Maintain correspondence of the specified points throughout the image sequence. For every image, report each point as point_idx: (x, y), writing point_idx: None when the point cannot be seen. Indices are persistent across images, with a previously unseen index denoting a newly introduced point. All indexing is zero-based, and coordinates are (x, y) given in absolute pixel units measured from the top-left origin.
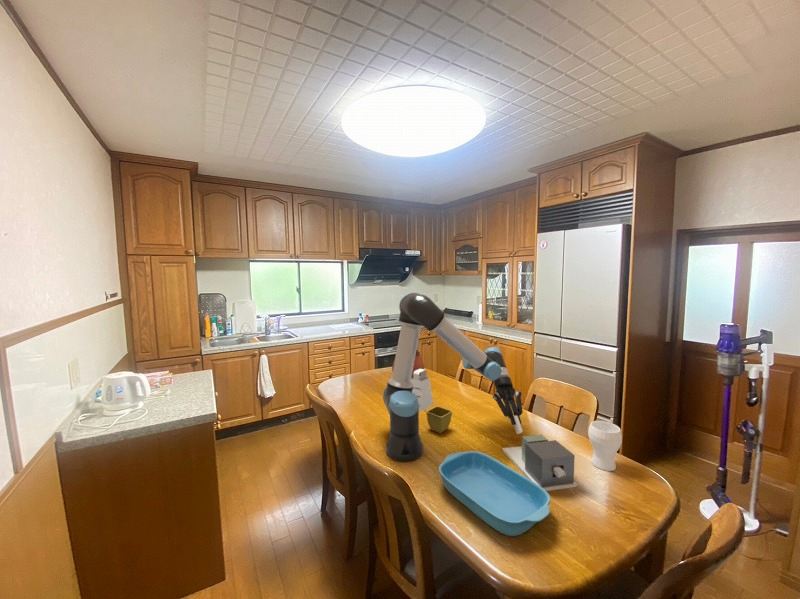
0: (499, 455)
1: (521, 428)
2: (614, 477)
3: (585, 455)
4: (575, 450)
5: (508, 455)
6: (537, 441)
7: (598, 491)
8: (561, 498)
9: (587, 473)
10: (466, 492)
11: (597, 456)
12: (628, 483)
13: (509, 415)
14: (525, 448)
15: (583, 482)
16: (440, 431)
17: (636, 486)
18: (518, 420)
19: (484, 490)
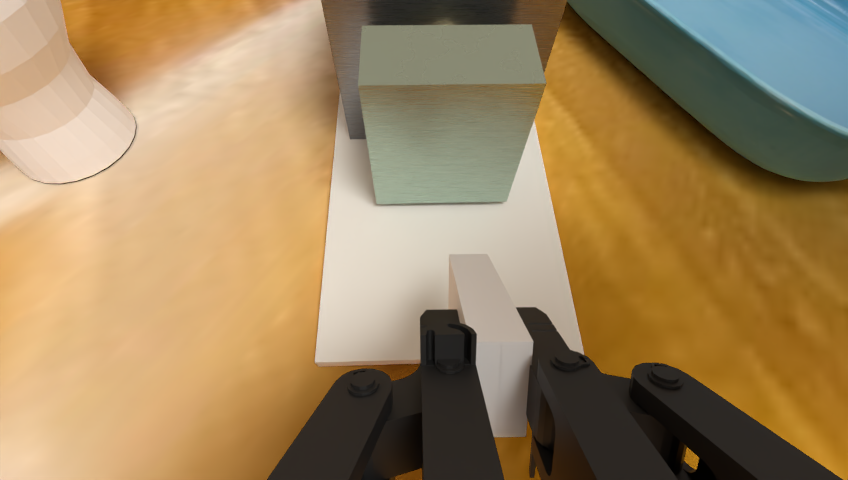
0: (615, 305)
1: (455, 265)
2: (137, 71)
3: (71, 222)
4: (70, 279)
5: (564, 273)
6: (451, 29)
7: (287, 27)
8: None
9: (225, 104)
10: (822, 62)
11: (90, 86)
12: (126, 41)
13: (606, 376)
14: (557, 28)
15: (298, 66)
16: None
17: (117, 27)
18: (470, 303)
19: (744, 65)
